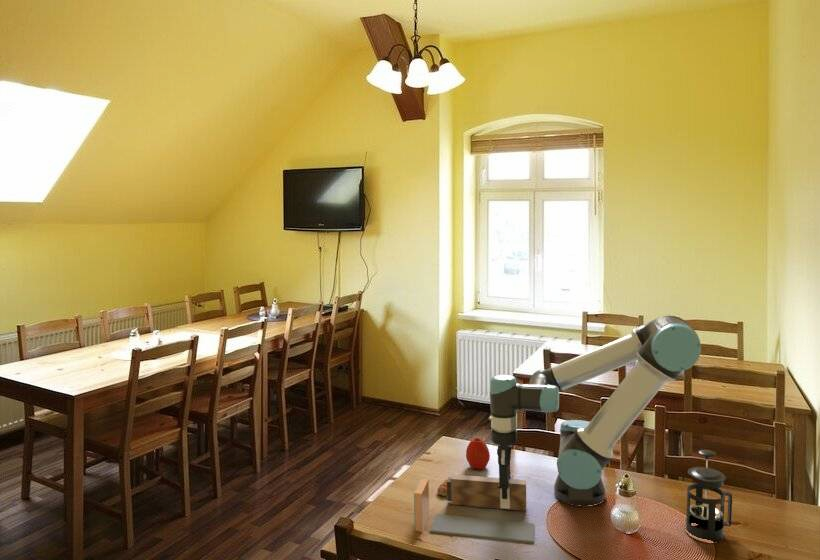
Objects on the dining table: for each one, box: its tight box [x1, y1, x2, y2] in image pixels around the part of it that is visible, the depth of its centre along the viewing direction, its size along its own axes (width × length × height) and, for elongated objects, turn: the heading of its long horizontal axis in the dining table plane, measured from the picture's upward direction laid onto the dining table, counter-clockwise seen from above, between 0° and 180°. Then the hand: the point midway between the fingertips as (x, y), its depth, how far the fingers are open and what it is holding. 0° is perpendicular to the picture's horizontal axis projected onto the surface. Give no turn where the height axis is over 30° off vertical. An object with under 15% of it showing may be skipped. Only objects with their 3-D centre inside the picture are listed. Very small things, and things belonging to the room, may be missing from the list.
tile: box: [413, 478, 430, 533], centre depth 165 cm, size 2×9×11 cm, turn 166°
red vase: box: [465, 437, 491, 471], centre depth 200 cm, size 8×8×11 cm
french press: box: [685, 449, 733, 543], centre depth 155 cm, size 12×9×23 cm
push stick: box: [446, 473, 527, 512], centre depth 174 cm, size 23×3×8 cm, turn 76°
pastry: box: [437, 478, 448, 497], centre depth 184 cm, size 9×7×4 cm
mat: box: [429, 513, 536, 544], centre depth 161 cm, size 28×9×1 cm, turn 76°
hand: (505, 504), depth 173 cm, fingers closed on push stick, 3 cm apart
